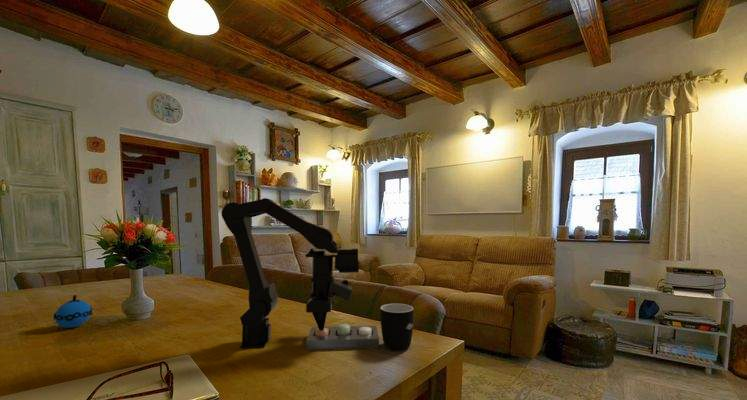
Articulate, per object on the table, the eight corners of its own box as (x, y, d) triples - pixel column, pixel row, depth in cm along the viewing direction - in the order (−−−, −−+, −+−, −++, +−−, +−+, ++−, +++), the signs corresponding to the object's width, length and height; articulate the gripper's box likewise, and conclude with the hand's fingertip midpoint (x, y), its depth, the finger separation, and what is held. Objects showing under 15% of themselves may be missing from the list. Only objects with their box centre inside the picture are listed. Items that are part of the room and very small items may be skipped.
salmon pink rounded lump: (314, 342, 84) (314, 332, 84) (316, 338, 87) (316, 327, 88) (327, 342, 84) (327, 331, 84) (328, 337, 88) (329, 327, 88)
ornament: (88, 328, 97) (90, 296, 97) (49, 334, 92) (51, 299, 92) (92, 321, 104) (95, 291, 104) (57, 326, 99) (59, 294, 100)
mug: (409, 355, 77) (409, 313, 78) (375, 350, 80) (375, 310, 81) (419, 338, 88) (418, 302, 89) (388, 335, 91) (388, 299, 92)
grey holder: (379, 348, 82) (379, 338, 82) (306, 349, 80) (306, 340, 80) (376, 334, 92) (376, 325, 92) (311, 335, 91) (311, 327, 91)
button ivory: (358, 341, 85) (358, 331, 85) (358, 337, 88) (358, 326, 88) (371, 341, 85) (371, 331, 85) (371, 336, 88) (371, 326, 89)
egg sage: (336, 338, 84) (336, 328, 84) (337, 334, 88) (337, 324, 88) (349, 338, 85) (350, 327, 85) (350, 333, 88) (350, 323, 88)
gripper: (350, 278, 78) (350, 342, 77) (351, 268, 97) (351, 319, 96) (306, 279, 78) (305, 343, 76) (315, 268, 96) (314, 319, 95)
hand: (321, 330), depth 86 cm, fingers closed, pressing on salmon pink rounded lump
